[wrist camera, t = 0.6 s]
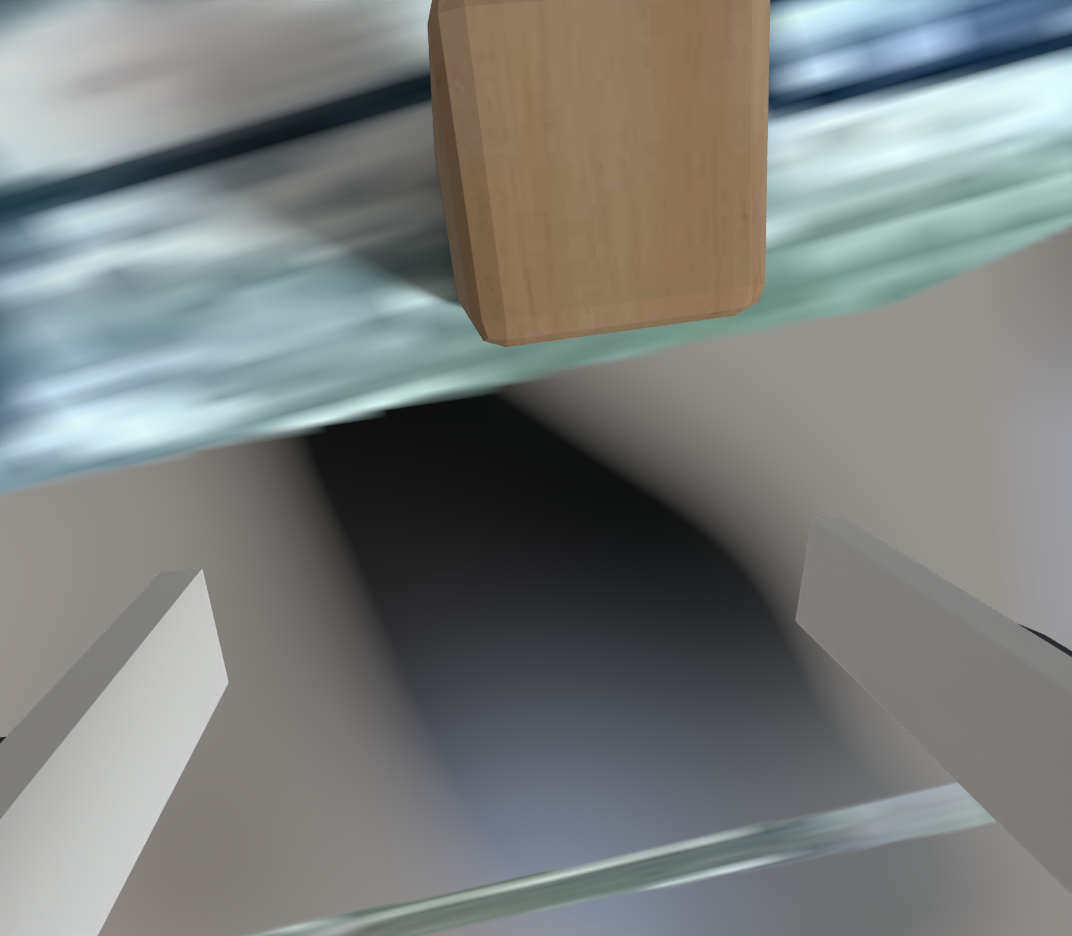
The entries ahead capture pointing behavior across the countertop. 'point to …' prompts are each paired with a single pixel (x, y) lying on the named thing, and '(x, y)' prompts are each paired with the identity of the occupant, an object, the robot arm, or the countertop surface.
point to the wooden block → (601, 161)
